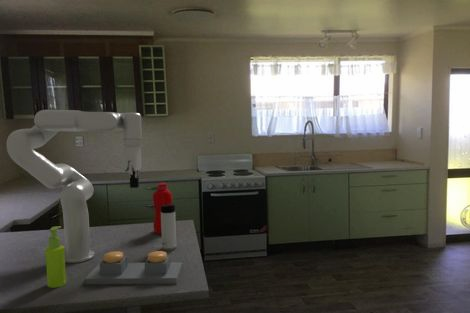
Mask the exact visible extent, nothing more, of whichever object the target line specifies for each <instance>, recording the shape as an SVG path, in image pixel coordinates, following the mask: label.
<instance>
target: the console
mask: <svg viewBox="0 0 470 313" xmlns="http://www.w3.org/2000/svg"><path fill="white" fill-rule="evenodd" d="M170 256H171V255H167V259H166V260H165V261H164V263H151V262H149V261H148V258H147V259H146V260H145V262H128V255H123V260H122V261H120V263H106V262H104V259H102V260H101V262H99V263H98V264H97V265H96V266H95V267H94V268H93V269H92V271H91V272H89V273H88V275H87V276H86V277H85V278H84V285H145V284H147V285H153V284H157V285H159V284H173V285H175V284H177V283H178V282H179V279H180V276H181V273H182V269H183V262H182V261H181V262H180V261H177V262H175V261H174V262H173V261H172V262H171V257H170Z"/></svg>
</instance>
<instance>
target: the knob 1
mask: <svg viewBox="0 0 470 313" xmlns="http://www.w3.org/2000/svg"><path fill="white" fill-rule="evenodd" d="M123 256H124V252H122V251H119V250H118V251H117V250H116V251H109V252H106V253H104V255H103V260H104V262H106V263H120V261H122V260H123Z"/></svg>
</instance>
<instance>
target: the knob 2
mask: <svg viewBox="0 0 470 313" xmlns="http://www.w3.org/2000/svg"><path fill="white" fill-rule="evenodd" d="M167 254H168V253H167V252H166V251H165V250H156V251H152V252H151V251H150V252H149V253H148V254H147V259H148V261H149V262H151V263H164V261H165V260H166V259H167Z"/></svg>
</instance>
